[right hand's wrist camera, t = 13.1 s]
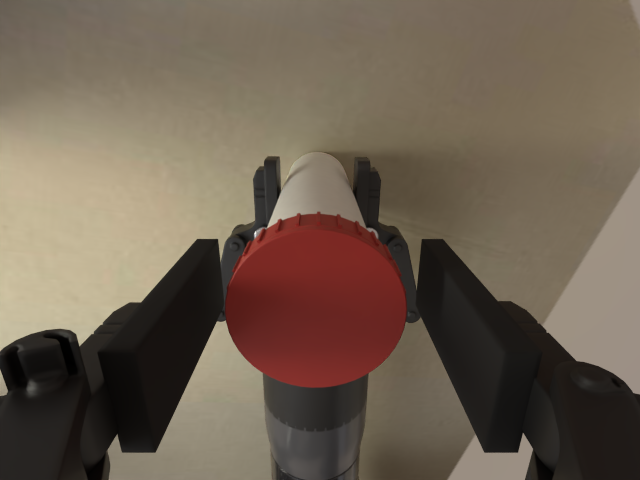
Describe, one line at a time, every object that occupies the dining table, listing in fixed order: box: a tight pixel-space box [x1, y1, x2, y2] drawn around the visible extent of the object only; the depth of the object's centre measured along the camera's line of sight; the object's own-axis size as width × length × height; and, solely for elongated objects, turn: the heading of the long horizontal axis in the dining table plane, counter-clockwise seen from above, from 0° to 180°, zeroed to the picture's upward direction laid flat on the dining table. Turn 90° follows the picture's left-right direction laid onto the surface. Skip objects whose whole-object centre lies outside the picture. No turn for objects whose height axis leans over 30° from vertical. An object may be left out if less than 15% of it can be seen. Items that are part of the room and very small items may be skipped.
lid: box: [225, 212, 407, 388], centre depth 12 cm, size 6×6×2 cm
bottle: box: [267, 152, 366, 229], centre depth 20 cm, size 4×4×19 cm
